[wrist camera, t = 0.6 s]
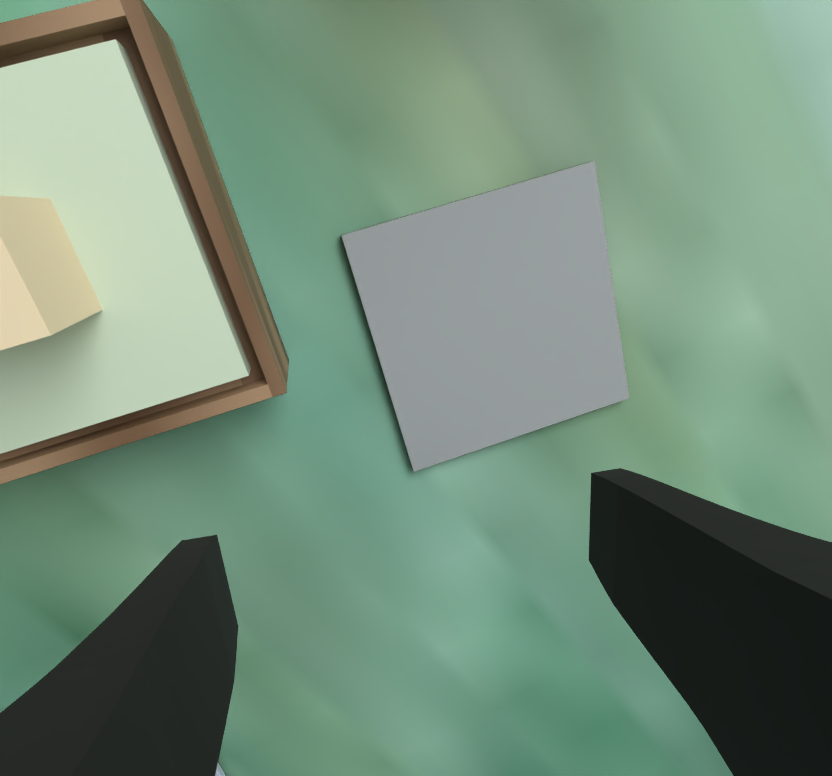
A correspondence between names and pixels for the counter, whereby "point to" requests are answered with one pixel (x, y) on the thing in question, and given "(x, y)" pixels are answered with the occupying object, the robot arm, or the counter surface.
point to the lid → (97, 255)
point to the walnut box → (209, 207)
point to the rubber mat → (492, 313)
